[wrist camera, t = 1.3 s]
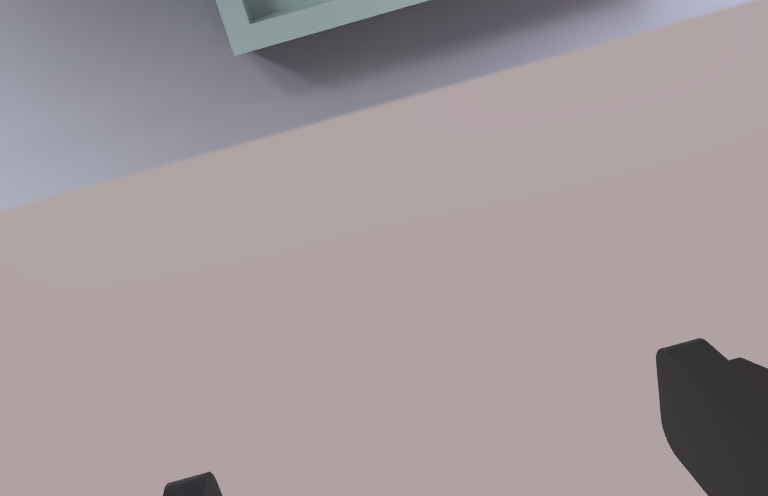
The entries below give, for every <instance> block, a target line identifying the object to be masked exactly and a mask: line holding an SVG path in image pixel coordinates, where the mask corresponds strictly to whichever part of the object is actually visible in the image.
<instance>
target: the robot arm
mask: <svg viewBox="0 0 768 496" xmlns="http://www.w3.org/2000/svg"><path fill="white" fill-rule="evenodd" d="M656 364H657V377H658V388H659V399H660V411H661V421H662V426H663V430H664V433H665V436H666V438H667V441H668V443H669V445H670V447H671V449H672V451H673V452H674V454H675V455H676V456H677V458H678V459H679V460H680V461H681V463H682V464H683V465H684V466H685V468H686V469H687V470H688V471H689V473H690V474H691V475H692V476H693V477H694V479H695V480H696V481H697V482H698V483H699V485H700V486H701V487H702V489H703V490H704V491H705V492H706V493H707V495H708V496H768V369H767V368H765V367H762V366H760V365H758V364H755V363H752V362H750V361H748V360H745V359H743V358H736V359H732V360H729V361H728V360H727V359H726V358H725V357H724V356H723V355H722V354H720V353H719V352H718V351H717V350H716V349H715V348H714V347H713V346H711V345H710V344H709V343H708V342H707V341H705V340H704V339H700V338H699V339H695V340H691V341H688V342H684V343H680V344H677V345H673V346H669V347H666V348H662V349H659V350H658V352H657V355H656ZM163 496H222V494H221V491H220V489H219V486H218V484H217V481H216V479H215V477H214V475H213V474H212V473H211V472H207V473H203V474H200V475H196V476H192V477H189V478H185V479H182V480H178V481H175V482H171V483H168V484H167V485H166V486H165V489H164V494H163Z"/></svg>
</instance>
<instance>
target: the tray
mask: <svg viewBox="0 0 768 496" xmlns="http://www.w3.org/2000/svg"><path fill="white" fill-rule="evenodd" d="M215 1H216V4H217V7H218V10H219V13H220V16H221V19H222V22H223V25H224V28H225V31H226V34H227V37H228V40H229V43H230V46H231V49H232V52H233V55H234V56H237V55H240V54H244V53H247V52H251V51H254V50H258V49H261V48H265V47H268V46H272V45H275V44H279V43H282V42H286V41H289V40H293V39H296V38H300V37H303V36H307V35H310V34H314V33H317V32H321V31H324V30H328V29H331V28H335V27H338V26H342V25H345V24H349V23H352V22H356V21H359V20H362V19H366V18H369V17H373V16H376V15H380V14H383V13H387V12H390V11H394V10H397V9H401V8H404V7H408V6H411V5H415V4H418V3H422V2H425V1H429V0H215Z"/></svg>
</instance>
